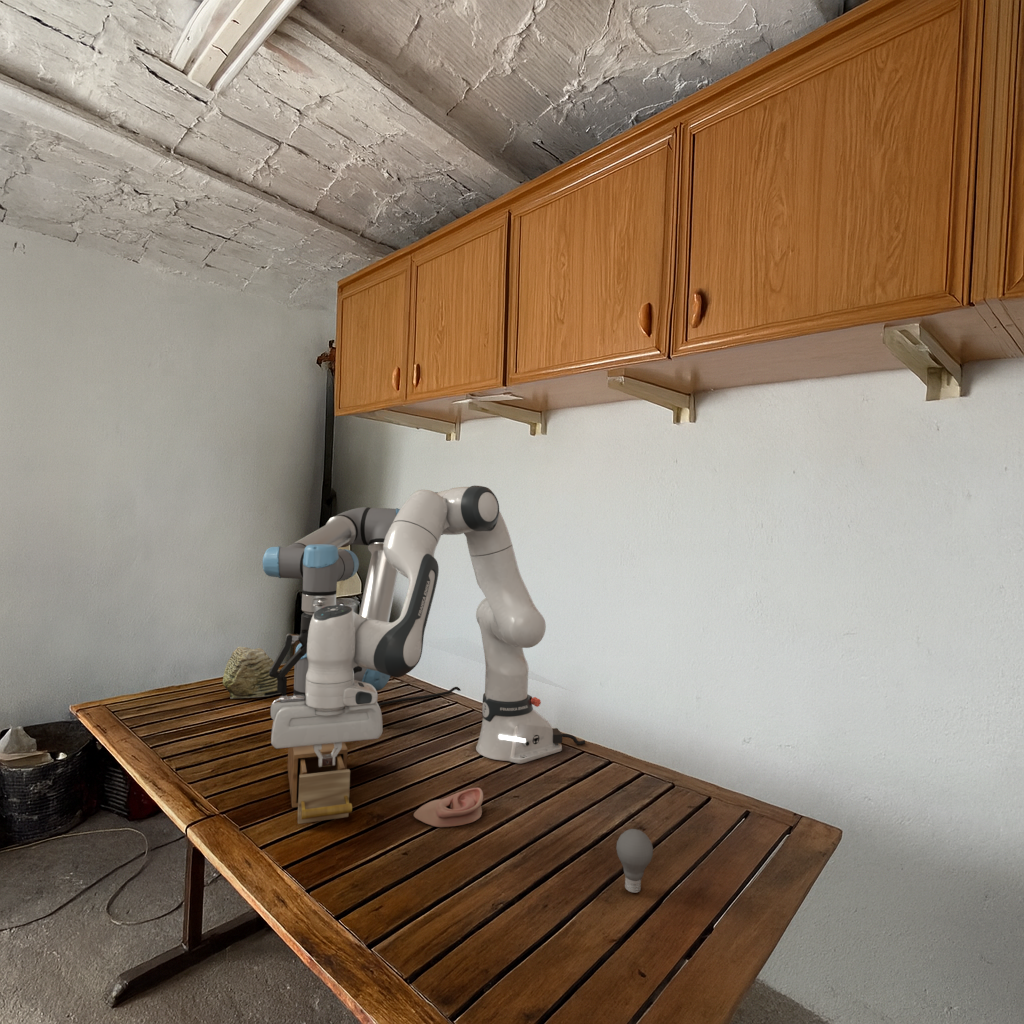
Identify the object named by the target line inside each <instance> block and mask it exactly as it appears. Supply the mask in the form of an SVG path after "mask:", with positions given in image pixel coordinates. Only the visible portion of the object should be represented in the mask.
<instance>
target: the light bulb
mask: <svg viewBox="0 0 1024 1024" xmlns="http://www.w3.org/2000/svg"><path fill="white" fill-rule="evenodd" d="M615 849H616V854H617V857H618V859H619V861H620V863H621V865H622V867H623V873H624V874H623V875H624V876H625V878H624V888H625V890H627V891H628V892H630V893H634V894H635V893H639V892H640V891H641V889H642V887H641V886H642V879H643V877H644V875H645V871H646V868H647V867H648V866H649V864H650V863H651V861H652V859H653V855H654V847H653V843H652V841H651V838H649V836H648V835H647V834H646V833H645V832H643V831H642V830H641V829H636V828H629V829H627V830H625V831H623V832H622V833H621V834H620V835H619V837H618V839H617V841H616V847H615Z"/></svg>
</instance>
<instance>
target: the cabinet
mask: <svg viewBox="0 0 1024 1024" xmlns="http://www.w3.org/2000/svg"><path fill="white" fill-rule="evenodd" d="M333 749H334V745H333V743H331V744H322V749H321V750H320V751H321V753H322V755H323V754H331V752H332V751H333ZM338 754H341V758H342V761H343V764H344V767H345V770H346V769H348V747H347V744H346V742H342V748H341V750H340V751H339V753H338ZM316 756H317V755H316V753H315V751H314V748H313V745H310V746H300V747H290V748H287V776H288V785H289V793H290V802H291V803H290V804H291V808H298V789H297V773H298V758H307V757H316Z"/></svg>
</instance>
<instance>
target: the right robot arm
mask: <svg viewBox="0 0 1024 1024" xmlns="http://www.w3.org/2000/svg"><path fill="white" fill-rule="evenodd" d="M399 509H400V510H399V512H398V514H397V515H396V517H395V519H394V521H393V523H392V525H391V526H390V528H389V530H388V532H387V534H386V537H385V540H384V544H383V550H384V554H385V557H386V559H387V561H388V562H389V563H390V564H391V566H392V567H393V568H394V569H396V570H397V571H398V574H401V575H402V576H403V577H405V578H407V579H408V588H407V591H406V595H405V599H404V602H403V604H402V609H401V612H400V615H399V617H398V618H397V619H396V620H394V621H391V622H390V621H389V622H385V621H379V620H375V619H370V618H366V617H363V616H360V615H359V613H357V612H355V610H354V609H353V607H351V606H350V605H346V604H345V605H344V604H336V605H333V606H326V607H323V608H321V609H319V610H317V611H316V612H315V613H314V614H313V616H312V619H311V622H310V626H309V631H308V640H307V659H308V664H309V666H308V671H307V674H306V687H305V694H302V695H294V694H293V695H286V696H282V695H280V696H279V697H278V698H276V699H274V700H273V702H271V704H270V711H269V715H270V718H271V720H272V725H271V733H270V734H271V735H270V744H271V746H272V747H273V748H274V749H276V750H280V749H288V748H290V747H300V746H310V745H313V748H314V751H315V753H316V755H317V756H318V758H319V767H325V766H335V757H336V756H337V755H338V753H339V751H340V750H341V748H342V742H345V743H349V742H350V743H351V742H359V741H360V742H361V741H369V740H378V739H379V738H380V737H381V736H382V734H383V731H384V730H383V728H384V726H383V724H384V723H383V714H382V709H381V706H379V705H378V703H379V702H378V699H379V694H378V691H376V689H375V688H374V687H373V686H372V685H371V684H369V683H365V682H361V681H357V680H354V671H353V669H354V667H357V666H359V667H362V668H366V669H371V670H375V671H379V672H381V673H384V674H387V675H389V676H390V677H393V678H401V677H404V676H405V675H407V674H409V673H410V672H411V671H412V670H414V669H415V668H416V666H417V665H418V664H419V662H420V660H421V658H422V654H423V647H424V636H425V632H426V628H427V623H428V619H429V616H430V611H431V608H432V604H433V600H434V595H435V592H436V588H437V585H438V579H439V573H440V572H439V563H438V560H437V559H436V558H435V552H436V549H437V546H438V544H439V542H440V539H441V536H443V535H447V536H455V535H456V536H458V535H464V536H465V538H466V544H467V549H468V553H469V557H470V561H471V563H472V568H473V572H474V576H475V580H476V583H477V586H478V587H479V588H480V590H481V592H482V593H483V595H484V597H485V598H484V599H482V600H481V601H480V602H479V604H478V605H477V608H476V611H475V619H476V622H477V623H478V626H479V629H480V636H481V642H482V647H483V653H484V661H485V675H484V677H485V678H484V693H483V694H482V706H481V713H482V714H481V715H482V722H481V727H480V732H479V737H478V740H477V743H476V746H475V750H476V752H477V753H478V754H479V755H481V756H483V757H485V758H487V759H490V760H495V761H504V762H511V763H515V764H522V765H523V764H525V763H529V762H532V761H535V760H537V759H541V758H544V757H547V756H550V755H553V754H556V753H560V752H562V751H563V745H562V743H563V738H567V739H571V740H572V741H573V742H574V744H575V745H578V746H582V745H586V740H578V739H577V737H576V736H574V735H573V734H569V733H562V732H561V731H560V730H559V728H557V727H555V728H554V727H553V726H552V724H551V723H550V721H548V719H546V718H545V717H544V716H543V715H542V714H541V713H539V712H537V710H535V709H534V707H535V708H538V707H540V705H541V704H542V701H541V699H540V698H538V697H536V696H534V697H533V696H532V695H530V694H528V692H529V671H530V670H529V668H530V667H529V663H528V660H527V659H526V656H525V653H524V649H530V648H533V647H535V646H537V645H538V644H540V643H541V641H542V640H543V639H544V636H545V634H546V628H547V625H546V624H547V623H546V621H545V617H544V616H543V614H542V613H541V612H540V611H539V610H538V608H537V606H536V604H535V603H534V601H533V598H532V595H531V594H530V592H529V590H528V588H527V586H526V584H525V582H524V579H523V576H522V575H521V572H520V569H519V565H518V561H517V557H516V554H515V550H514V549H515V548H514V545H513V542H512V538H511V535H510V532H509V529H508V527H507V524H506V522H505V519H504V517H503V515H502V513H501V511H500V504H499V500H498V498H497V496H496V495H495V493H494V491H492V489H490V488H489V487H487V486H483V485H471V486H457V487H452V488H449V489H445V490H442V491H439V492H438V491H434V490H430V489H418V490H416V491H414V492H413V493H412V494H411V495H409V497H408V498H407V499H406V500H405V502H404V503H403V504H402V506H401V507H400V508H399ZM304 700H305V701H304ZM533 706H534V707H533ZM331 743H333V745H334V749H333V751H332V752H331V754H323V755H322V753H321V751H320V750H321V749H322V744H331Z"/></svg>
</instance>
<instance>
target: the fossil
mask: <svg viewBox="0 0 1024 1024" xmlns="http://www.w3.org/2000/svg"><path fill="white" fill-rule="evenodd" d="M274 662H275V660H273V659H272V658H271V657H270V656H269V655H268V654H267V653H266V652H265V650H264V649H263V648H260V647H258V648H251V647H247V646H246V647H245V646H238V647H237V648H236V649H235V650H233V651H232V653H231V656H230V657H229V659H228V660H227V663H226V666H225V668H224V671H223V675H222V676H223V677H222V685H223V687H224V688H225V690H226V691H228V693H229V698H230V699H250V698H264V697H271V696H275V695H281V693H278V692H277V678H275V677H270V675H269V671H270V669H271V667H272V665H273V663H274ZM280 670H281V669H280V668H279V669H278V671H280Z"/></svg>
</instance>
